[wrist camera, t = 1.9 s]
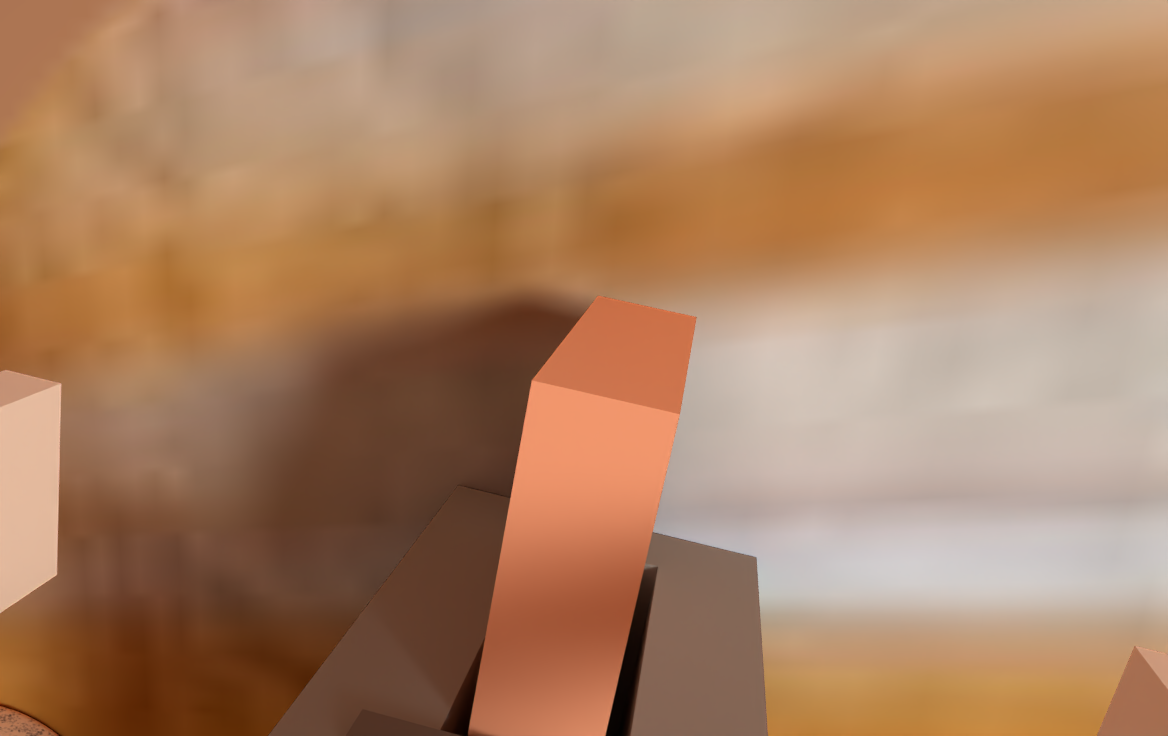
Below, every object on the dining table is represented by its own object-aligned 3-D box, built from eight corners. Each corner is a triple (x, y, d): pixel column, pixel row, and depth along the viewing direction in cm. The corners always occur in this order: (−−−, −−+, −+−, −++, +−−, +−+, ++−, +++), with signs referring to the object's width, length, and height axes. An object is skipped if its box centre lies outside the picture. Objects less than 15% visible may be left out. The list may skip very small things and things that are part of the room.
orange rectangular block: (574, 849, 27) (513, 1132, 19) (493, 826, 27) (401, 1098, 20) (696, 316, 23) (680, 414, 15) (598, 295, 23) (531, 380, 15)
